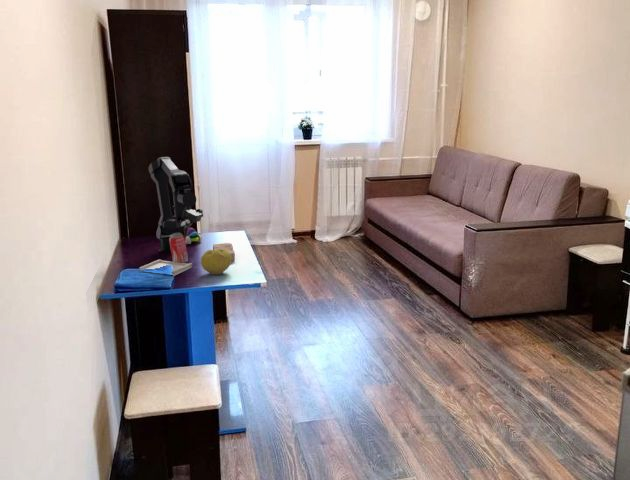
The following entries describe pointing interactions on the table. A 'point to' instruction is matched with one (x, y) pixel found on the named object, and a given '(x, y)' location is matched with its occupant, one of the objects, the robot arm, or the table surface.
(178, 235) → the beverage can
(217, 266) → the fruit
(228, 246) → the brick
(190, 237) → the multicoloured layered toy figurine
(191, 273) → the table surface
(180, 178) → the robot arm
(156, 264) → the tray
